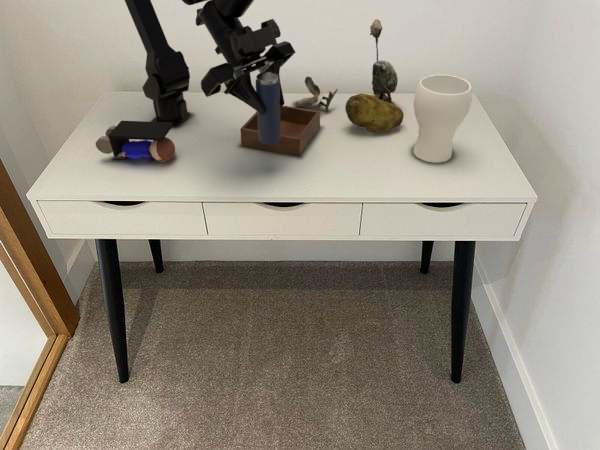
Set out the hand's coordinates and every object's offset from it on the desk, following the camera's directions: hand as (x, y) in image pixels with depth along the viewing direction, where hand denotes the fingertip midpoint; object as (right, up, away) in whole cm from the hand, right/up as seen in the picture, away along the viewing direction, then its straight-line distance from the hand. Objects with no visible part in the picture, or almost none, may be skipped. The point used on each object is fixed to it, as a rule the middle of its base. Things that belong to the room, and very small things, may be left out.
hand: (273, 109), depth 90 cm
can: (-1, -4, +5) cm, 7 cm away
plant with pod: (+24, +7, +30) cm, 39 cm away
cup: (+32, -6, +14) cm, 36 cm away
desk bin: (+1, -1, +20) cm, 20 cm away
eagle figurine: (+8, +8, +31) cm, 33 cm away
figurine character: (-28, -7, +13) cm, 32 cm away
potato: (+21, +1, +22) cm, 31 cm away
